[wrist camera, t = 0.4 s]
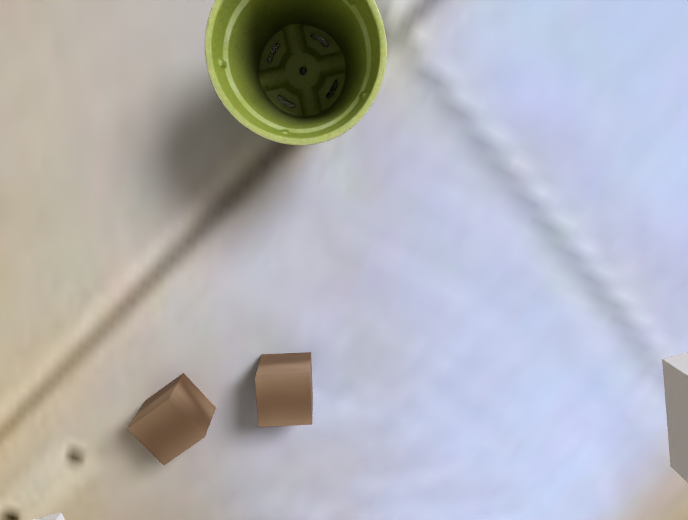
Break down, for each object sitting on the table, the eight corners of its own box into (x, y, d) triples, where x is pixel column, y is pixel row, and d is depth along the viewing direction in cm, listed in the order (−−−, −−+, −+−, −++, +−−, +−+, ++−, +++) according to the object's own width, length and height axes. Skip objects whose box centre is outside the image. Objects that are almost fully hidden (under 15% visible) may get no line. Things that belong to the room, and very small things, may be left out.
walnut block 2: (261, 354, 38) (254, 378, 34) (310, 352, 38) (309, 376, 35) (264, 398, 39) (258, 426, 35) (312, 396, 39) (312, 424, 36)
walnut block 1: (146, 399, 39) (127, 428, 35) (183, 372, 38) (168, 399, 34) (178, 433, 40) (163, 465, 36) (216, 407, 39) (204, 436, 35)
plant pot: (329, 166, 35) (332, 177, 26) (211, 100, 33) (174, 88, 25) (394, 46, 33) (420, 16, 24) (272, -31, 31) (255, -91, 23)
